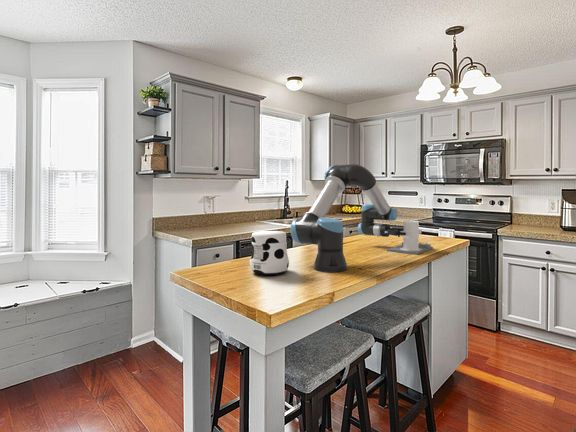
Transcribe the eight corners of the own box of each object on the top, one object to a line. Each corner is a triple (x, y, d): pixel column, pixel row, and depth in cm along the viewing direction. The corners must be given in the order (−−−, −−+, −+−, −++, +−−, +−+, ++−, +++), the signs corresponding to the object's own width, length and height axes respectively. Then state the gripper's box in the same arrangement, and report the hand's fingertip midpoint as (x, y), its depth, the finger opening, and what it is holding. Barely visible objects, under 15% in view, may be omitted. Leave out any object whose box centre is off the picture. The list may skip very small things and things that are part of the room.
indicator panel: (417, 254, 192) (417, 247, 192) (386, 251, 204) (386, 244, 204) (432, 248, 210) (433, 242, 210) (403, 245, 222) (404, 239, 222)
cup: (403, 249, 200) (403, 221, 199) (403, 247, 208) (403, 220, 207) (418, 250, 198) (419, 222, 197) (417, 247, 206) (418, 220, 204)
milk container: (288, 267, 166) (287, 230, 165) (289, 277, 149) (289, 235, 148) (251, 268, 166) (250, 230, 164) (249, 278, 148) (247, 236, 147)
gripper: (391, 234, 224) (424, 236, 210) (372, 238, 205) (407, 242, 191) (391, 222, 223) (424, 224, 209) (372, 226, 204) (407, 228, 190)
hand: (416, 232), depth 200 cm, fingers open, 13 cm apart
